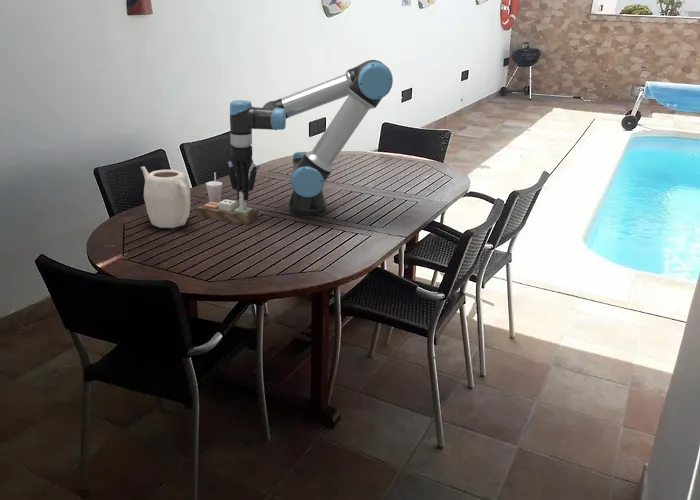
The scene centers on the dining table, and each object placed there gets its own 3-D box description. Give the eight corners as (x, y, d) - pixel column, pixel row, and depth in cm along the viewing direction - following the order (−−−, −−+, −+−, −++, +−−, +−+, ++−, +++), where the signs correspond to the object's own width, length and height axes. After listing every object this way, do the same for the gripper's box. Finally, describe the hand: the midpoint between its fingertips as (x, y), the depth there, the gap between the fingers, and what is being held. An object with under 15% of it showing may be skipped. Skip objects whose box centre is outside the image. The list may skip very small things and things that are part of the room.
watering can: (163, 210, 233) (159, 162, 226) (208, 226, 218) (205, 175, 211) (127, 219, 222) (122, 169, 215) (172, 237, 207) (168, 183, 200)
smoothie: (219, 210, 236) (218, 175, 231) (204, 208, 237) (202, 173, 232) (226, 205, 242) (224, 171, 237) (210, 204, 243) (209, 169, 238)
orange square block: (222, 212, 232) (222, 203, 230) (215, 216, 227) (215, 206, 226) (211, 210, 233) (210, 201, 232) (204, 214, 229) (203, 205, 228)
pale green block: (252, 217, 228) (252, 207, 226) (246, 221, 223) (245, 211, 222) (241, 215, 229) (240, 206, 228) (234, 219, 225) (233, 209, 224)
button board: (258, 217, 229) (258, 208, 228) (247, 224, 221) (246, 215, 220) (210, 210, 236) (210, 201, 234) (197, 216, 228) (197, 207, 227)
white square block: (237, 210, 229) (237, 200, 228) (230, 213, 225) (230, 204, 223) (225, 208, 231) (225, 199, 229) (218, 211, 226) (218, 202, 225)
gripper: (262, 145, 218) (263, 208, 226) (230, 141, 222) (232, 203, 230) (252, 149, 211) (253, 213, 220) (219, 145, 215) (222, 208, 224)
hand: (243, 208), depth 225 cm, fingers closed
